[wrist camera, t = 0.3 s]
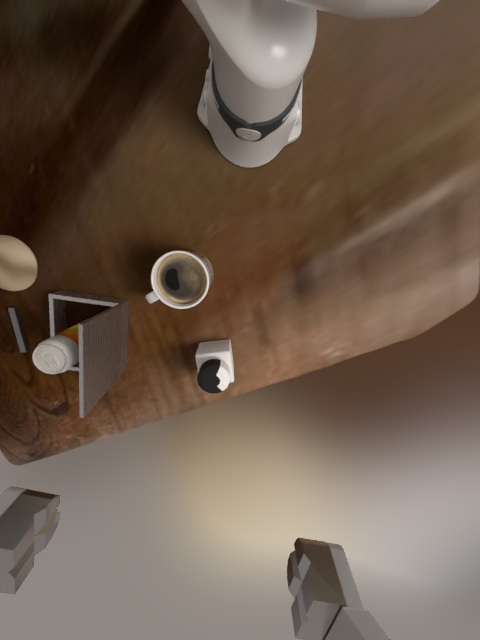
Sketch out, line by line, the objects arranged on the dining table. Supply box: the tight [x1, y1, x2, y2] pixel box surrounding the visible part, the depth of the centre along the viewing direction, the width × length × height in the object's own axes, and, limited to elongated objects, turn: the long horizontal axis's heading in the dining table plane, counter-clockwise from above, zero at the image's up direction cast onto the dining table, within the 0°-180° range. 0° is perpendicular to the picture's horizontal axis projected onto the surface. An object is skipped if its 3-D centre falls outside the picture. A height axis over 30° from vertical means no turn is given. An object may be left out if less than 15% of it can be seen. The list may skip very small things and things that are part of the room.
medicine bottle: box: [195, 339, 234, 393], centre depth 53 cm, size 7×7×12 cm
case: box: [49, 290, 130, 418], centre depth 47 cm, size 16×14×18 cm
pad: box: [0, 235, 38, 291], centre depth 51 cm, size 11×11×1 cm
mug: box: [145, 250, 213, 309], centre depth 48 cm, size 10×12×11 cm
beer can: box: [32, 319, 88, 374], centre depth 49 cm, size 6×6×15 cm
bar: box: [8, 307, 29, 352], centre depth 55 cm, size 10×1×1 cm, turn 2°
